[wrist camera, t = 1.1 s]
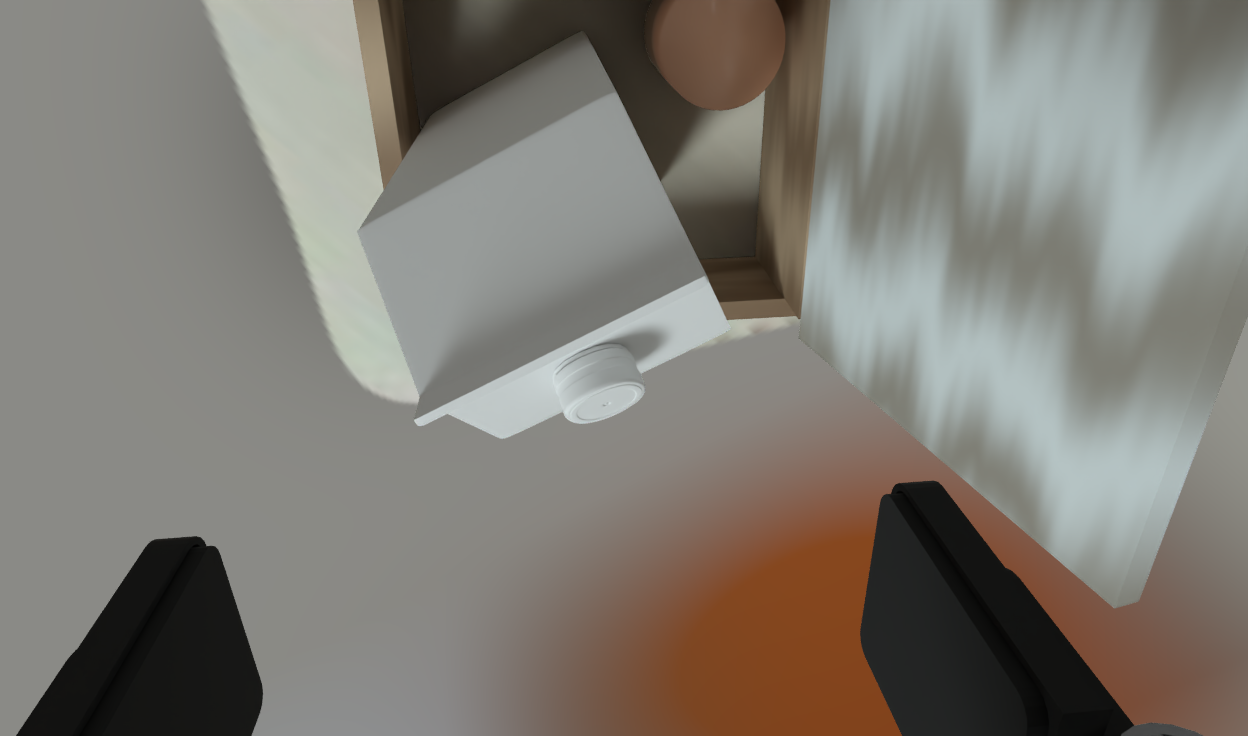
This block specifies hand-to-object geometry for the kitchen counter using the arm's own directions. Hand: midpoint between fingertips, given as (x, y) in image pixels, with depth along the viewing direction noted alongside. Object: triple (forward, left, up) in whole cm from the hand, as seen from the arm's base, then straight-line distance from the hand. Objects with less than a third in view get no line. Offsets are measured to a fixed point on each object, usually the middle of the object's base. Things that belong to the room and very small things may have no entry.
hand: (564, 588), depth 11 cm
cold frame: (-1, +4, -26) cm, 26 cm away
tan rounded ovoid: (-5, +6, -26) cm, 27 cm away
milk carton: (0, 0, -26) cm, 26 cm away
